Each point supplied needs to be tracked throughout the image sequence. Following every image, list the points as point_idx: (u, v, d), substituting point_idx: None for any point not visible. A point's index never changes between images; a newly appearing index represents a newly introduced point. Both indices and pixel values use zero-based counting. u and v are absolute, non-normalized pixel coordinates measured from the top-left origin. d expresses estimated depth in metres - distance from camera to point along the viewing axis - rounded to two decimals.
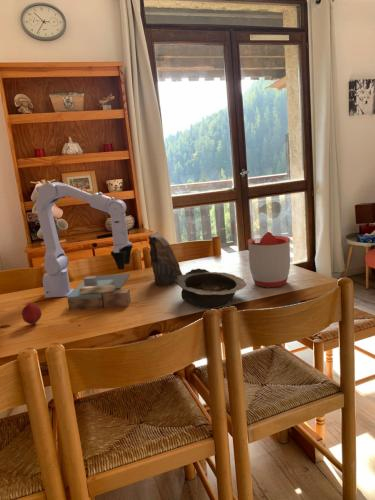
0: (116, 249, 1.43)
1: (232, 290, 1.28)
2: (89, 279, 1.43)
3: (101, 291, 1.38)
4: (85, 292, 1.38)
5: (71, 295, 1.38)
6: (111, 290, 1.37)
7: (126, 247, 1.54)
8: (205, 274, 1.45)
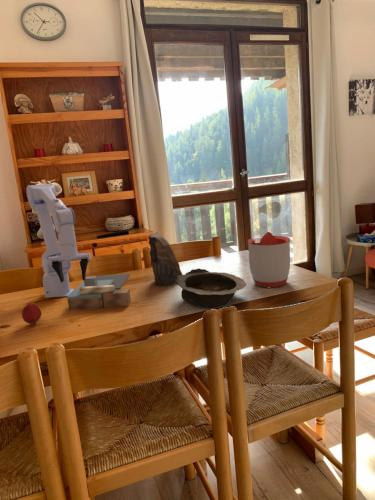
0: None
1: (232, 290, 1.28)
2: (89, 279, 1.43)
3: (101, 291, 1.38)
4: (85, 292, 1.38)
5: (71, 295, 1.38)
6: (111, 290, 1.37)
7: None
8: (205, 274, 1.45)
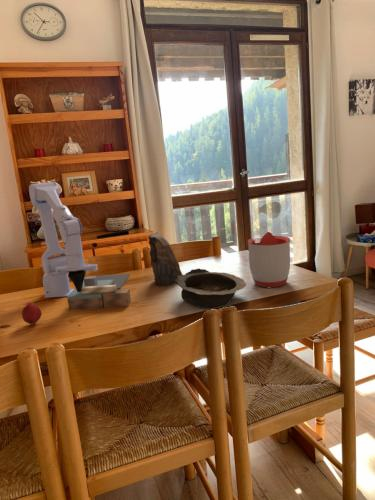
0: None
1: (232, 290, 1.28)
2: (89, 279, 1.43)
3: (103, 291, 1.38)
4: (87, 292, 1.38)
5: (71, 295, 1.38)
6: (113, 290, 1.37)
7: None
8: (205, 274, 1.45)
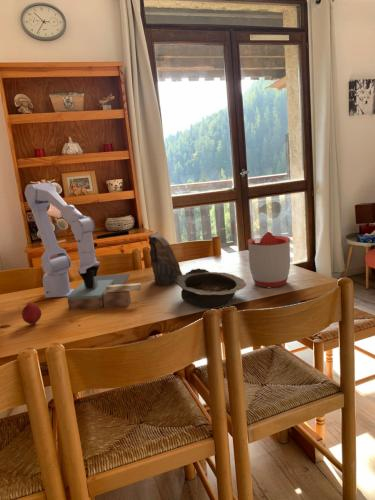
0: (82, 270, 1.36)
1: (232, 290, 1.28)
2: None
3: (128, 289, 1.37)
4: (111, 290, 1.38)
5: (71, 295, 1.38)
6: (138, 288, 1.37)
7: (92, 268, 1.45)
8: (205, 274, 1.45)
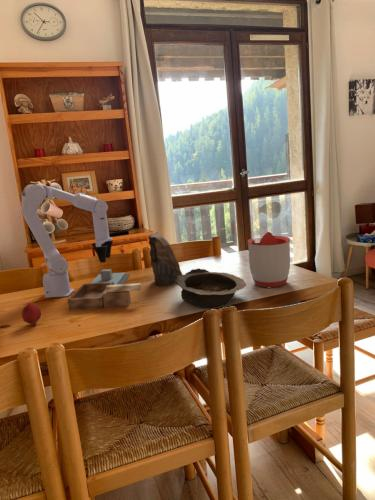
0: (98, 244, 1.56)
1: (232, 290, 1.28)
2: (105, 271, 1.65)
3: (128, 289, 1.37)
4: (111, 290, 1.38)
5: None
6: (138, 288, 1.37)
7: (107, 242, 1.68)
8: (205, 274, 1.45)
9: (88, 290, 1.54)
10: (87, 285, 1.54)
